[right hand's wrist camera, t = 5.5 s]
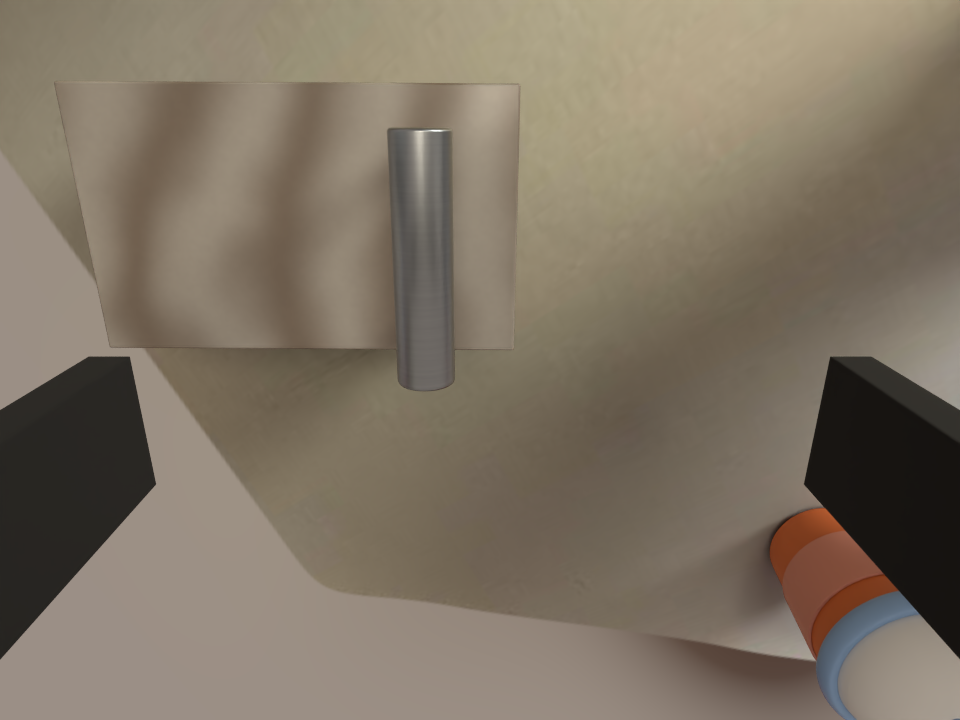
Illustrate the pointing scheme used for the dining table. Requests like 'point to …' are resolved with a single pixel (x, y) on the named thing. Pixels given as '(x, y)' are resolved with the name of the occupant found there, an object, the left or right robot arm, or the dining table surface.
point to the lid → (301, 215)
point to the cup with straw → (861, 627)
